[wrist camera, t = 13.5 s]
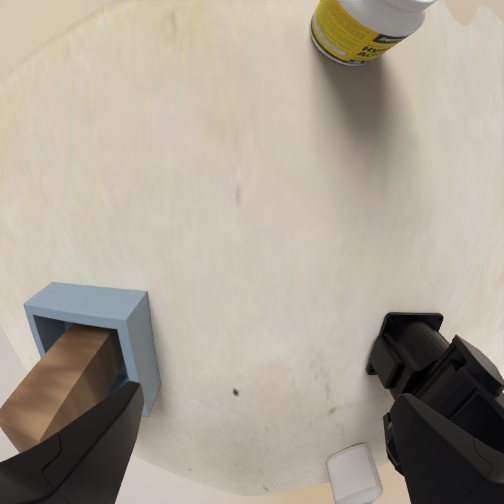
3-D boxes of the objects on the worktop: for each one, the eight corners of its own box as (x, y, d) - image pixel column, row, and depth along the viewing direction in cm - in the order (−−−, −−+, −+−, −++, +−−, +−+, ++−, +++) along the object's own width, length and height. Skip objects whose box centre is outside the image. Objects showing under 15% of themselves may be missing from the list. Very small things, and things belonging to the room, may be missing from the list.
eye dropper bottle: (327, 449, 28) (345, 531, 17) (371, 440, 28) (397, 516, 16) (324, 465, 29) (339, 539, 18) (364, 457, 29) (386, 527, 18)
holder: (147, 291, 21) (126, 320, 17) (161, 387, 24) (150, 421, 20) (52, 282, 21) (23, 303, 17) (77, 371, 24) (58, 398, 20)
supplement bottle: (344, 80, 17) (413, 29, 8) (293, 26, 16) (321, -55, 6) (391, 49, 16) (467, 1, 7) (343, -1, 15) (392, -72, 5)
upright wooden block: (117, 323, 22) (39, 440, 9) (125, 361, 23) (67, 476, 10) (78, 317, 22) (-6, 417, 9) (88, 354, 23) (21, 455, 10)
